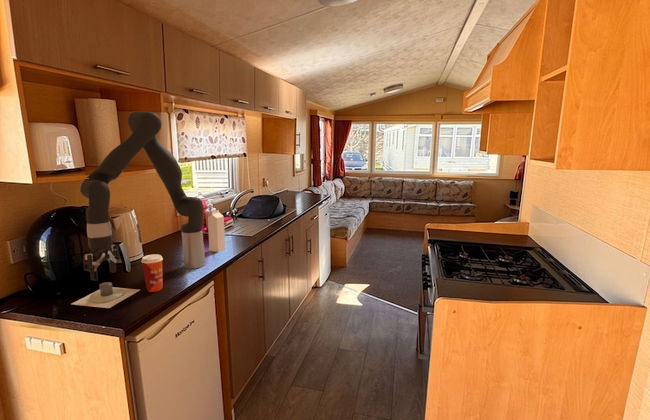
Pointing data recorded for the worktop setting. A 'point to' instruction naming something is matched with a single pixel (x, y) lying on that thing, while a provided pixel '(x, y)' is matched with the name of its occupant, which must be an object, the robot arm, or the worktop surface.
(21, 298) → the worktop surface
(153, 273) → the paper cup
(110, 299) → the lid
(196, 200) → the robot arm
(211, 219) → the milk
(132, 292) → the mat
